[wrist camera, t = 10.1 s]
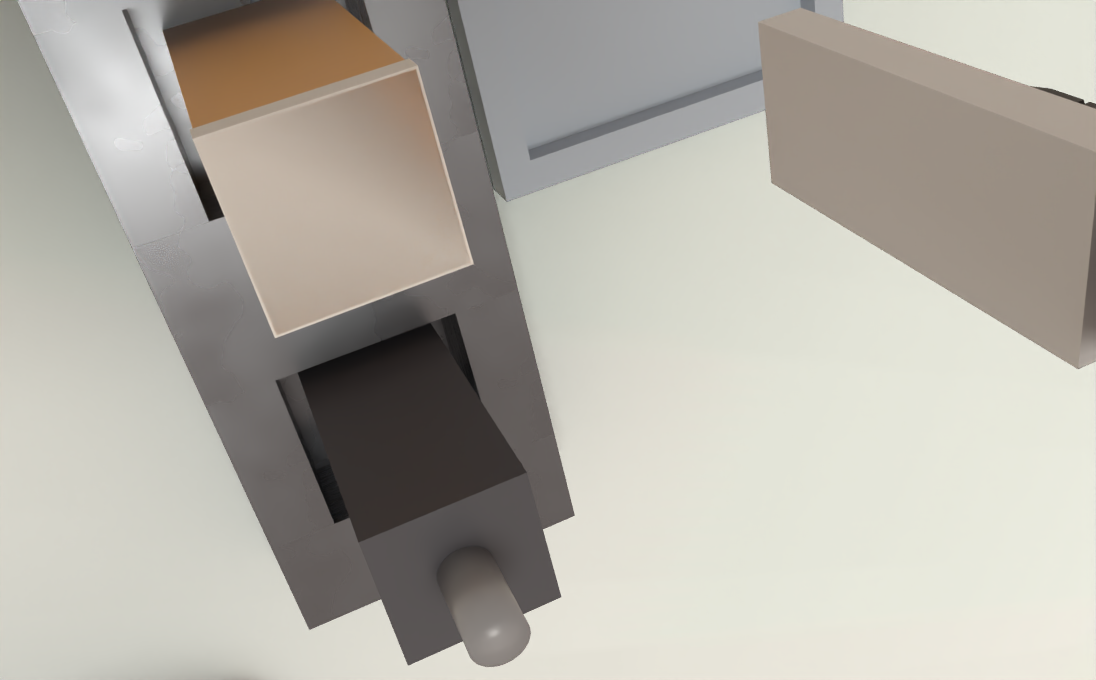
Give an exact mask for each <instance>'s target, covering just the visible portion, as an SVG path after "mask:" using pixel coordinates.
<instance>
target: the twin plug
mask: <svg viewBox="0 0 1096 680" xmlns="http://www.w3.org/2000/svg"><path fill="white" fill-rule="evenodd" d="M297 373H298V376H299V378H300V381H301V384H302V387H303V389H304V392H305V395H306V398H307V401H308V403H309V406H310V409H311V412H312V415H313V417H314V420H315V423H316V426H317V428H318V431H319V434H320V437H321V440H322V442H323V445H324V448H325V451H326V454H327V456H328V459H329V462H330V465H331V467H332V470H333V473H334V476H335V479H336V481H337V484H338V487H339V490H340V492H341V495H342V498H343V501H344V504H345V506H346V509H347V512H348V515H349V518H350V520H351V523H352V526H353V529H354V531H355V534H356V537H357V540H358V543H359V545H360V548H361V550H362V553H363V555H364V557H365V560H366V562H367V565H368V567H369V570H370V572H371V575H372V577H373V580H374V582H375V585H376V587H377V590H378V592H379V595H380V597H381V600H382V602H383V605H384V607H385V609H386V612H387V614H388V617H389V619H390V622H391V624H392V627H393V629H394V632H395V634H396V637H397V639H398V642H399V644H400V647H401V649H402V652H403V654H404V657H405V659H406V662H407V664H408V665H411V664H413V663H415V662H417V661H419V660H422V659H424V658H426V657H428V656H431V655H433V654H435V653H437V652H440V651H442V650H444V649H446V648H449V647H451V646H453V645H455V644H457V643H460V642H462V641H463V642H464V644H465V647H466V649H467V651H468V653H469V656H470V658H471V659H472V660H473V661H474V662H475V663H476V664H478V665H481V666H485V667H495V666H500V665H503V664H506V663H508V662H510V661H512V660H513V659H515V658H516V657H517V656H518V655H520V654H521V653H522V651H523V650H524V649H525V648H526V646H527V644H528V642H529V639H530V634H531V633H530V627H529V624H528V622H527V620H526V619H525V617H524V615H523V614H525V613H527V612H529V611H531V610H533V609H536V608H538V607H540V606H542V605H545V604H547V603H549V602H551V601H554V600H556V599H558V598H560V597H561V594H560V591H559V587H558V583H557V580H556V576H555V572H554V569H553V565H552V562H551V558H550V554H549V551H548V547H547V543H546V540H545V536H544V532H543V529H542V525H541V522H540V518H539V514H538V511H537V507H536V503H535V500H534V496H533V493H532V489H531V485H530V482H529V478H528V474H527V472H526V470H525V469H524V467H523V466H522V464H521V462H520V461H519V459H518V458H517V456H516V455H515V453H514V452H513V450H512V448H511V447H510V445H509V444H508V442H507V441H506V439H505V438H504V436H503V434H502V433H501V431H500V430H499V428H498V427H497V425H496V424H495V422H494V421H493V419H492V417H491V416H490V414H489V413H488V411H487V410H486V408H485V407H484V405H483V403H482V402H481V400H480V399H479V397H478V396H477V394H476V393H475V391H474V389H473V388H472V386H471V385H470V383H469V382H468V380H467V379H466V377H465V375H464V374H463V372H462V371H461V369H460V368H459V366H458V365H457V363H456V361H455V360H454V358H453V357H452V355H451V354H450V352H449V351H448V349H447V347H446V346H445V344H444V343H443V341H442V340H441V338H440V337H439V335H438V333H437V332H436V330H435V329H434V327H433V326H432V324H431V323H428V324H425V325H423V326H420V327H417V328H415V329H412V330H409V331H407V332H404V333H401V334H399V335H396V336H393V337H391V338H388V339H385V340H383V341H380V342H377V343H375V344H372V345H369V346H367V347H364V348H361V349H359V350H356V351H353V352H351V353H348V354H345V355H343V356H340V357H337V358H335V359H332V360H329V361H327V362H324V363H321V364H319V365H316V366H313V367H311V368H308V369H305V370H303V371H300V372H297Z"/></svg>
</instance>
